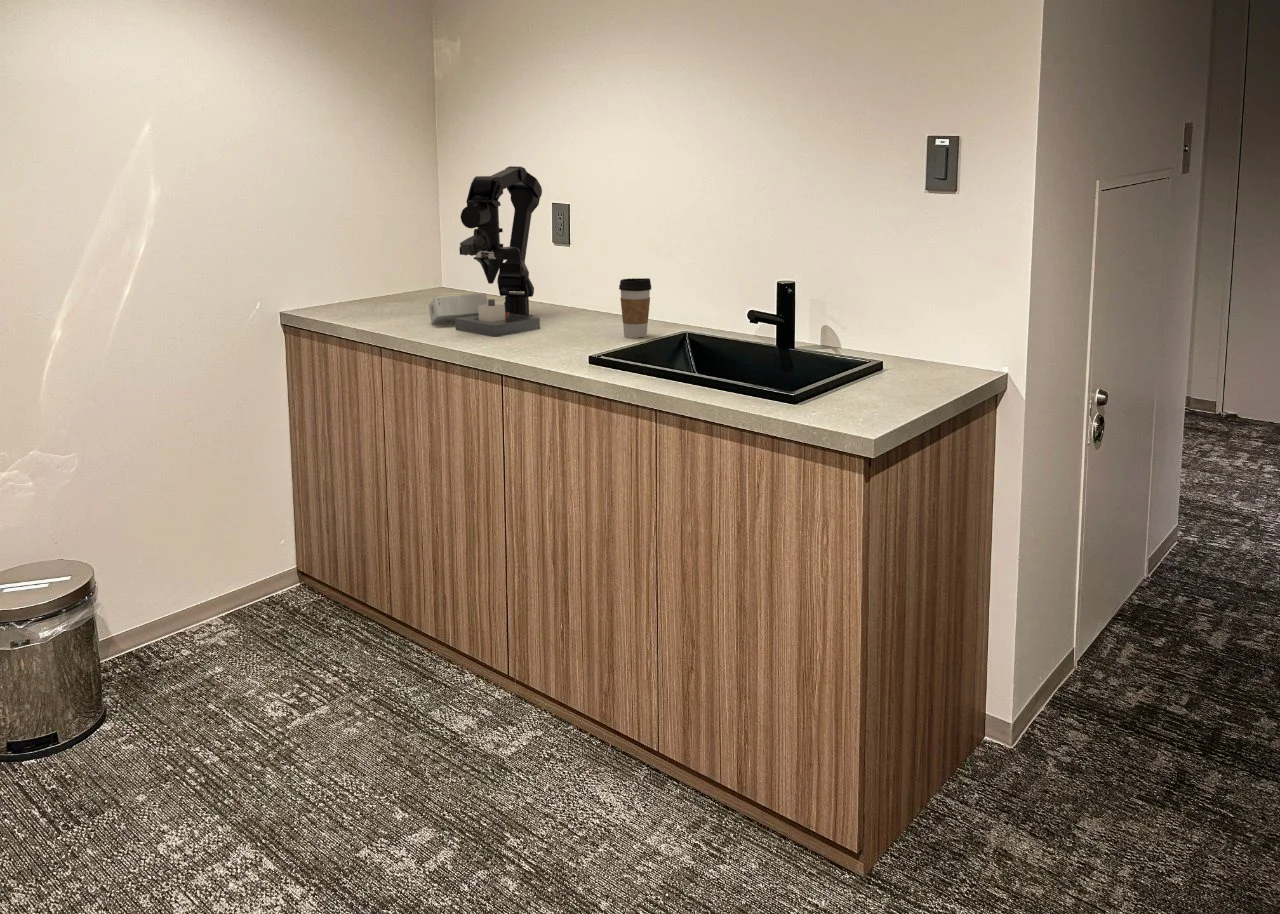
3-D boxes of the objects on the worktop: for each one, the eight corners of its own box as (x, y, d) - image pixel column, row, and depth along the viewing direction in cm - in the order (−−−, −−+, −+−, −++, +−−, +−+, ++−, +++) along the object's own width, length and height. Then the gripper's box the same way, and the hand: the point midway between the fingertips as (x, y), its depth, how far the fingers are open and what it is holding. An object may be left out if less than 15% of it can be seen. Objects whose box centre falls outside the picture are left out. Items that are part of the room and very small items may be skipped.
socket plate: (499, 322, 324) (499, 309, 323) (539, 328, 314) (539, 315, 313) (455, 329, 313) (454, 316, 312) (495, 336, 303) (495, 323, 302)
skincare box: (436, 316, 314) (490, 313, 320) (433, 295, 315) (487, 292, 321) (430, 324, 322) (482, 321, 328) (427, 303, 323) (479, 300, 328)
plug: (493, 325, 315) (492, 297, 313) (505, 327, 312) (504, 299, 310) (479, 327, 312) (477, 299, 309) (491, 329, 308) (490, 301, 306)
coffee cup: (640, 340, 298) (640, 281, 293) (613, 337, 302) (612, 279, 298) (657, 335, 304) (657, 277, 300) (630, 332, 309) (630, 275, 304)
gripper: (442, 224, 309) (445, 283, 314) (487, 229, 297) (490, 290, 302) (474, 221, 317) (477, 279, 322) (520, 226, 305) (522, 285, 310)
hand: (490, 283), depth 313 cm, fingers closed
